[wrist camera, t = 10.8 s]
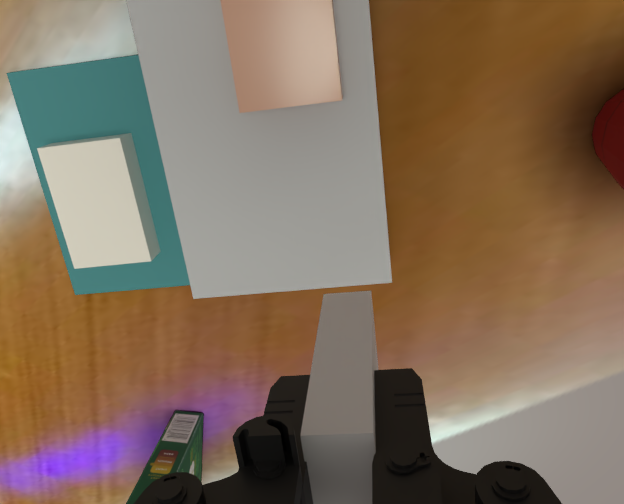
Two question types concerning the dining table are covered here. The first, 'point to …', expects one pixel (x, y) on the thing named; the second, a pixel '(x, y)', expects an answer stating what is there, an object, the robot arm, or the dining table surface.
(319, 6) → the salmon pink block
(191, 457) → the coffee box
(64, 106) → the mat
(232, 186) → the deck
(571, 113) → the dining table surface
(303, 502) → the robot arm
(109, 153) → the cream rectangular block
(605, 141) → the plastic cup
